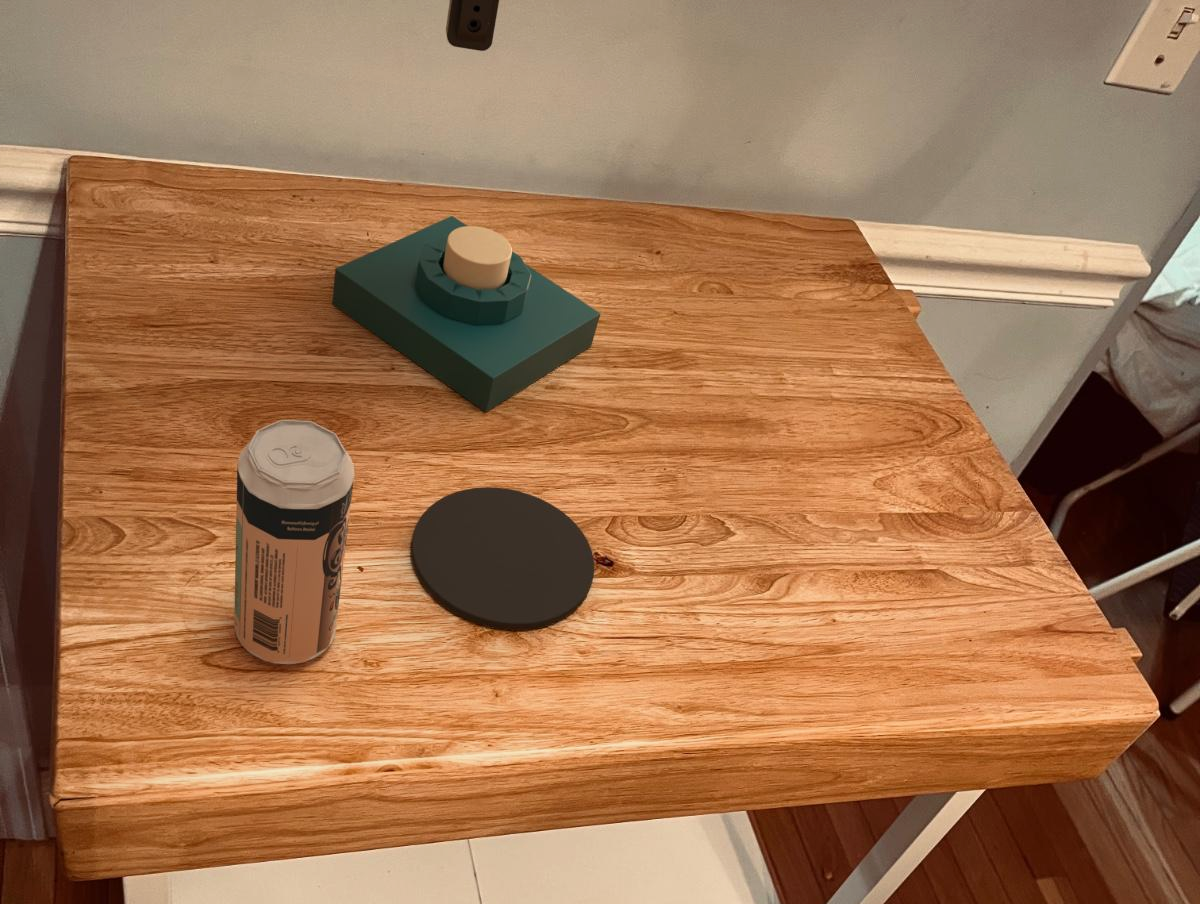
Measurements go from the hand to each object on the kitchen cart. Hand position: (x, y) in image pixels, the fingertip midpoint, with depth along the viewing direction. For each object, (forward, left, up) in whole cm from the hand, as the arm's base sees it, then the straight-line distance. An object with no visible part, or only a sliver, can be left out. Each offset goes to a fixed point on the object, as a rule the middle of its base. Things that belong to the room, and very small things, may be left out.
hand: (459, 5), depth 61 cm
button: (+1, +3, -17) cm, 17 cm away
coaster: (+16, -11, -21) cm, 28 cm away
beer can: (+12, -23, -21) cm, 33 cm away
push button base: (+1, +3, -21) cm, 21 cm away
